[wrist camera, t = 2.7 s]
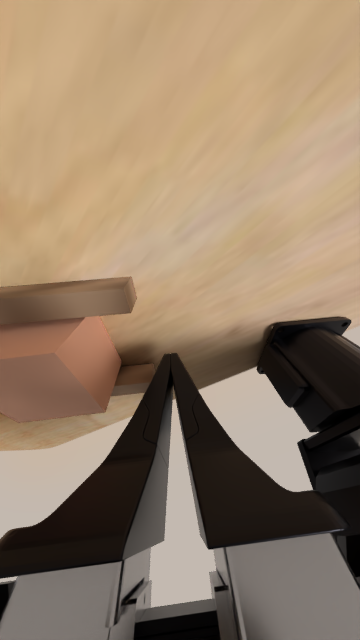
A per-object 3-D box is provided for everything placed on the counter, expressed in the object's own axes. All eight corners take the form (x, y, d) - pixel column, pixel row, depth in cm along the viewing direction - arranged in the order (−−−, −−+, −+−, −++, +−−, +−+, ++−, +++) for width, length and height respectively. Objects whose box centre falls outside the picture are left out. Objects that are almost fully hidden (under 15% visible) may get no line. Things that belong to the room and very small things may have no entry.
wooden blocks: (131, 276, 9) (123, 288, 7) (155, 372, 15) (154, 391, 13) (-49, 291, 9) (-99, 307, 7) (47, 383, 14) (31, 404, 13)
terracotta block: (95, 305, 10) (54, 352, 6) (122, 360, 14) (105, 412, 10) (11, 315, 10) (-79, 368, 6) (59, 368, 13) (18, 422, 10)
